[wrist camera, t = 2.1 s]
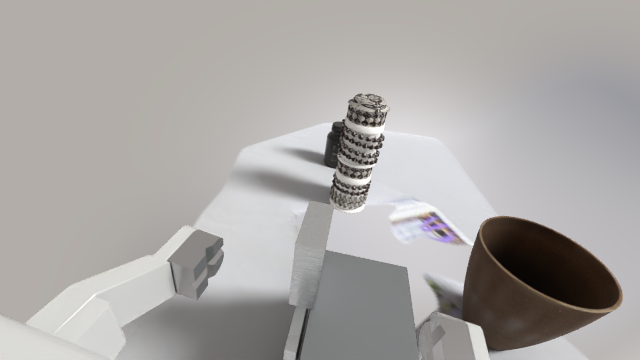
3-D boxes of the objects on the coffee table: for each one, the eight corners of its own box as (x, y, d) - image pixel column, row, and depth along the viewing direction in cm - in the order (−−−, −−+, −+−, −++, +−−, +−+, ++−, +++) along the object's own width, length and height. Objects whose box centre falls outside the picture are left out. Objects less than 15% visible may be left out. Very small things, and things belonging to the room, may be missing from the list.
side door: (293, 412, 29) (316, 294, 18) (271, 406, 29) (280, 286, 18) (311, 322, 37) (334, 205, 26) (294, 318, 37) (309, 200, 27)
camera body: (380, 468, 28) (427, 416, 20) (283, 442, 28) (293, 383, 21) (377, 319, 41) (405, 254, 34) (312, 303, 42) (324, 237, 34)
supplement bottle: (350, 163, 82) (358, 125, 75) (338, 171, 77) (345, 131, 70) (331, 155, 85) (338, 118, 78) (318, 162, 80) (324, 123, 73)
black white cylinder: (322, 191, 67) (339, 89, 54) (356, 189, 70) (380, 91, 57) (334, 215, 60) (357, 104, 47) (372, 212, 63) (403, 105, 50)
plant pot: (497, 402, 34) (579, 333, 25) (417, 298, 45) (455, 226, 36) (563, 356, 40) (647, 288, 31) (478, 275, 51) (523, 208, 42)
